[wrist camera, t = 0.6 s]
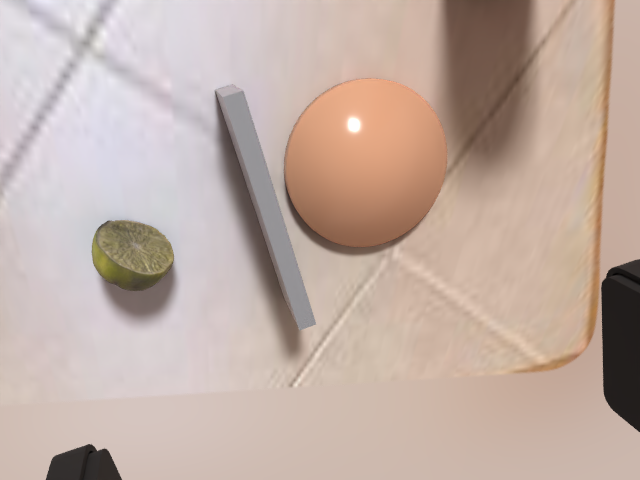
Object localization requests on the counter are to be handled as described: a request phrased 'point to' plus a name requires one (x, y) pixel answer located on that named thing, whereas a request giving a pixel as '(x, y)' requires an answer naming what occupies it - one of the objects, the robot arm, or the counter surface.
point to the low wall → (265, 202)
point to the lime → (131, 254)
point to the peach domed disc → (365, 162)
